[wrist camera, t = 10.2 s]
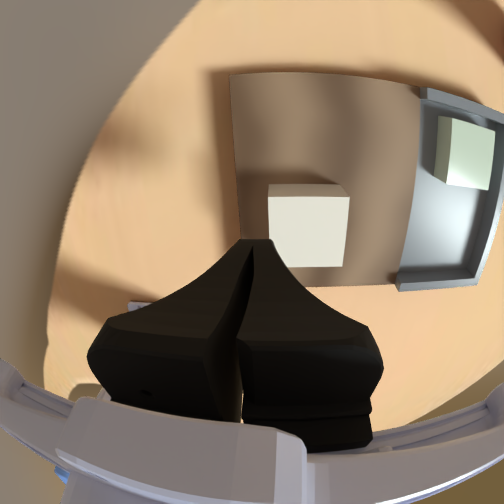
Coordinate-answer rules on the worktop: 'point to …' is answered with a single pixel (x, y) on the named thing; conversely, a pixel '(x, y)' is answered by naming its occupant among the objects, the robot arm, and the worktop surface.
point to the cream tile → (308, 223)
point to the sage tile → (463, 153)
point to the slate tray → (450, 204)
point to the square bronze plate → (330, 160)
